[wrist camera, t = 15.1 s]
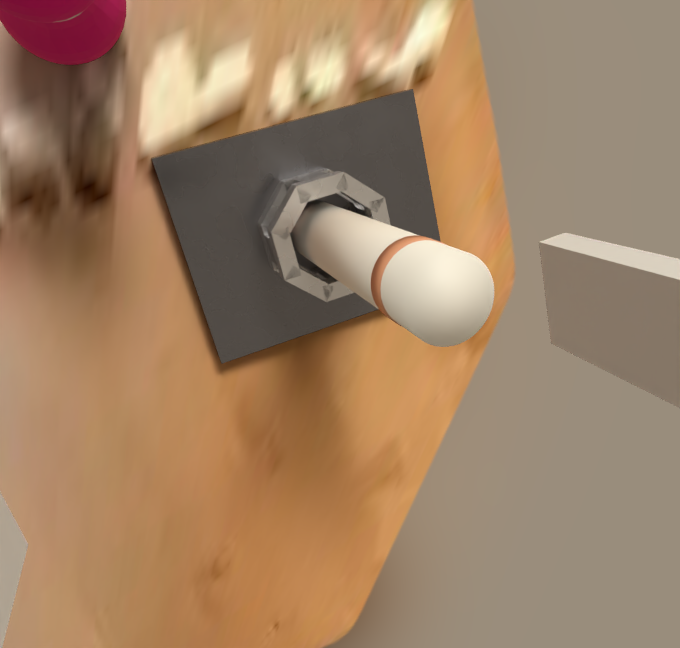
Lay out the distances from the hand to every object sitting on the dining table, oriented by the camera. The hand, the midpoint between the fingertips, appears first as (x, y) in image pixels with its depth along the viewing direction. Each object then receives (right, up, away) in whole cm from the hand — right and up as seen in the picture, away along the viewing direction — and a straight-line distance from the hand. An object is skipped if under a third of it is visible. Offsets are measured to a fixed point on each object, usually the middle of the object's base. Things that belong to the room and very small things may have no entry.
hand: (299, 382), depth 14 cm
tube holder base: (-1, +9, +35) cm, 36 cm away
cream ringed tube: (-1, +9, +34) cm, 35 cm away
